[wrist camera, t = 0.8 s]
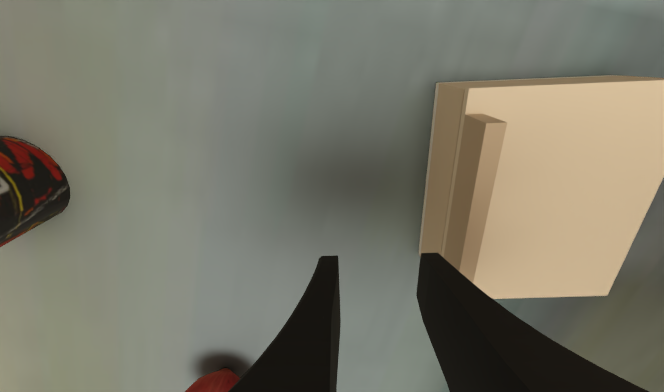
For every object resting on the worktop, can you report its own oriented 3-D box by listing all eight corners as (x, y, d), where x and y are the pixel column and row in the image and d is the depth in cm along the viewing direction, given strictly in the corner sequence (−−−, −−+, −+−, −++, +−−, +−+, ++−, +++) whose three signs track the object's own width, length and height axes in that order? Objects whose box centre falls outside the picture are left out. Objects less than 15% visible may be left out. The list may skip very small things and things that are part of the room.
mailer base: (611, 75, 17) (688, 79, 13) (552, 248, 22) (596, 286, 18) (436, 82, 17) (464, 89, 13) (418, 252, 22) (435, 290, 18)
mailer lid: (699, 77, 13) (775, 81, 11) (601, 290, 18) (638, 322, 16) (465, 87, 13) (491, 93, 11) (434, 295, 18) (449, 327, 16)
